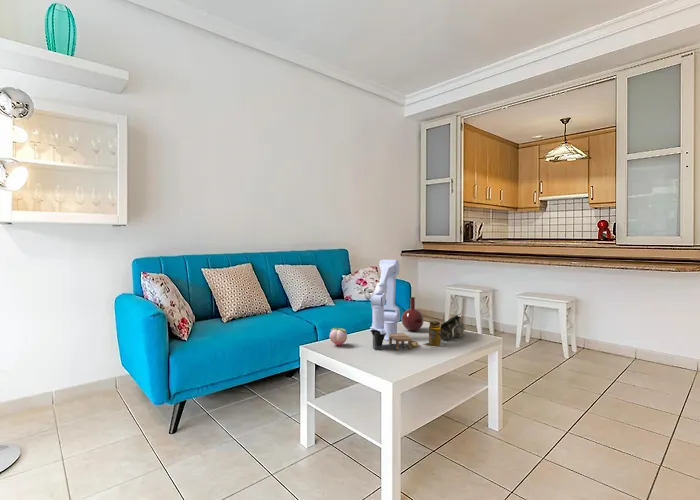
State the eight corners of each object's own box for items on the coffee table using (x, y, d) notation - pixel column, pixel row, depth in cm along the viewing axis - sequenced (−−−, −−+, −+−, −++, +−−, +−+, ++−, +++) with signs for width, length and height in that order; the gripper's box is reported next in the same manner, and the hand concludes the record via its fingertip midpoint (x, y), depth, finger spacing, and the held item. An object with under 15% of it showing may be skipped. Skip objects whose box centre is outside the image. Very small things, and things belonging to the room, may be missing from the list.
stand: (388, 344, 202) (388, 334, 202) (403, 343, 204) (403, 333, 204) (396, 350, 192) (396, 339, 192) (411, 349, 194) (411, 338, 194)
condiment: (444, 345, 200) (444, 322, 200) (432, 347, 196) (432, 324, 195) (433, 342, 207) (434, 319, 206) (422, 344, 202) (422, 321, 201)
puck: (406, 345, 201) (406, 341, 201) (415, 344, 202) (415, 340, 202) (410, 348, 196) (410, 343, 196) (419, 347, 198) (419, 342, 198)
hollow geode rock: (441, 352, 204) (460, 334, 198) (425, 333, 209) (443, 315, 203) (459, 338, 227) (477, 323, 221) (444, 322, 232) (461, 306, 225)
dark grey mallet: (372, 348, 196) (372, 334, 195) (402, 345, 200) (402, 332, 200) (375, 350, 192) (374, 336, 192) (405, 347, 196) (405, 334, 196)
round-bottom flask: (412, 327, 241) (412, 295, 240) (428, 331, 230) (428, 297, 229) (397, 330, 233) (397, 297, 233) (412, 334, 222) (412, 300, 222)
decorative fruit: (349, 343, 203) (349, 325, 203) (345, 348, 195) (344, 328, 195) (332, 342, 206) (332, 324, 205) (327, 346, 198) (327, 327, 198)
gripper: (366, 315, 200) (366, 341, 200) (375, 321, 186) (375, 349, 186) (379, 315, 202) (379, 340, 202) (388, 320, 188) (388, 348, 188)
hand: (378, 344), depth 194 cm, fingers open, 4 cm apart
